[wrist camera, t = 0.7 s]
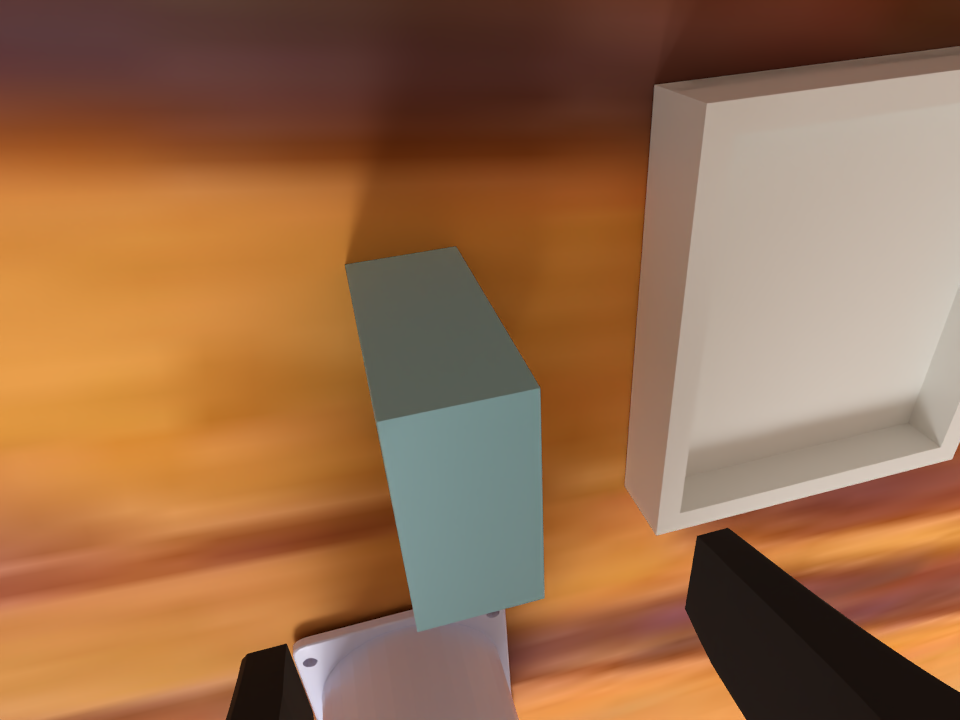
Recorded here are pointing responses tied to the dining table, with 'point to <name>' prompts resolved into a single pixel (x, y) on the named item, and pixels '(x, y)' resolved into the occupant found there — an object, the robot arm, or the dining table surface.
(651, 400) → the tray
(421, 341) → the teal block
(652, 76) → the dining table surface
